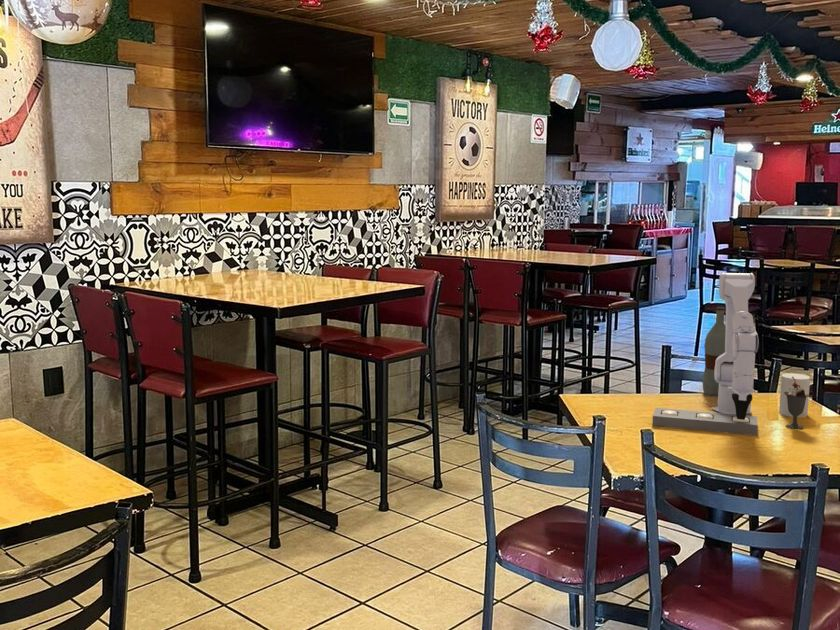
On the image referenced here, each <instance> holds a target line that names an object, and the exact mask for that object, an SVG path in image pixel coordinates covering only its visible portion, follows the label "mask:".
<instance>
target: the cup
mask: <svg viewBox="0 0 840 630" xmlns="http://www.w3.org/2000/svg"><path fill="white" fill-rule="evenodd" d="M780 376H781V379H780V395H779V406H778V407H779V409H778V413H779V414H780V415H782V416H786V417H790V418H793V416H792V415H791V414H790V412H789V411H788V403H787V396H786V395H785V394H784V392H788V391H789V389H790V388H791V387H792V384H793V383H797V384H798V385H800V386H801V387H802V388H803V390H804V391H805V393H806V394H807V395H809V396H810V387H811V386H810V383H811V377H810V376H809V375H806V374H800V373H792V372H791V373H782V374H781V375H780ZM792 377H794V379H795V381H794V379H793V378H792ZM809 396H808V397H807V398H806V402H805V406H804V410H803V413H802V414H801V415H799V416H798V417H797V418H804V416H806V417H808V414H809V413H808V411H809V398H810V397H809Z"/></svg>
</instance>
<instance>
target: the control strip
mask: <svg viewBox="0 0 840 630" xmlns="http://www.w3.org/2000/svg"><path fill="white" fill-rule="evenodd" d="M667 410H668V411H675V412H677V416H673V415H662V411H667ZM653 411H654V412H653V415H652V427H665V428H672V427H673V428H674V429H685V430H696V431H705V432H706V431H707V432H714V433H725V432H726V433H727V432H728V434H736V433H738V435H746V434H747V436H748V435H749V436H758V429H759V428H758V427H759V426H758V425H759V424H758V423H759V422H758V418H757V417H758V416H755V415H746V417H745V418H748V419H749V422H740V421H733V417H736V414H735V415H734V414H723V413H720V412H712V411H711V412H710V411H700V410H699V411H698V410H688V409H687V410H686V409H677V408H676V409H675V408H674V409H673V408H665V407H664V408H663V407H655V409H654V410H653ZM697 414H710V415H712V416H713V418H712V419H706V418H697ZM673 428H672V429H673Z"/></svg>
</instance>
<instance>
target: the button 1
mask: <svg viewBox="0 0 840 630" xmlns="http://www.w3.org/2000/svg"><path fill="white" fill-rule="evenodd" d="M662 415H673V416H677V412H675V411H668V410H667V411H662Z"/></svg>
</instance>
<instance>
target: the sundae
mask: <svg viewBox="0 0 840 630" xmlns="http://www.w3.org/2000/svg"><path fill="white" fill-rule="evenodd" d="M792 378H793V379H794V377H792ZM794 381H795V379H794ZM784 394H785V395H786V396H787V403H788V411H789V412H790V414H791V415H792V416H793V417H792V422H791V423H790V424H786V425H785V427H786V428H787V429H789V428H790V429H791V430H795V429H801V430H803V429H804V426H803V425H799V423H798V418H799V417H798V416H799V415H801V414H802V413H803V410H804V406H805V402H806V398H807V397H808V396H810V394H809V395H807V394H806V393H805V391H804V390H803V388H802V387H801V386H800V385H798V384H797V383H793V384H792V387H791V388H790V389H789V391H788V392H784Z"/></svg>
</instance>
